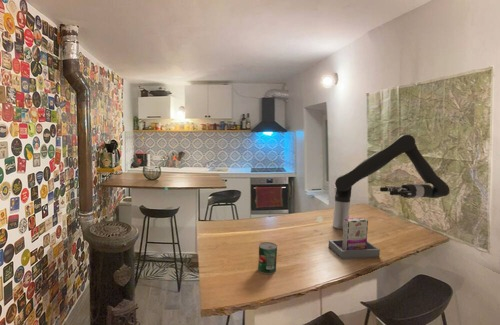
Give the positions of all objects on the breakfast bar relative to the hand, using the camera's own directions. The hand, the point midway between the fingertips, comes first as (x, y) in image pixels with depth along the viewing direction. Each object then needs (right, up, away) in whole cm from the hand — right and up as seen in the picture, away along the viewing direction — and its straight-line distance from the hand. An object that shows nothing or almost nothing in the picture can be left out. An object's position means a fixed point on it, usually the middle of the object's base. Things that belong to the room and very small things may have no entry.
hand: (385, 191), depth 158 cm
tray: (-20, -30, -7) cm, 37 cm away
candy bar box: (-19, -30, -7) cm, 36 cm away
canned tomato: (-64, -32, -28) cm, 77 cm away
